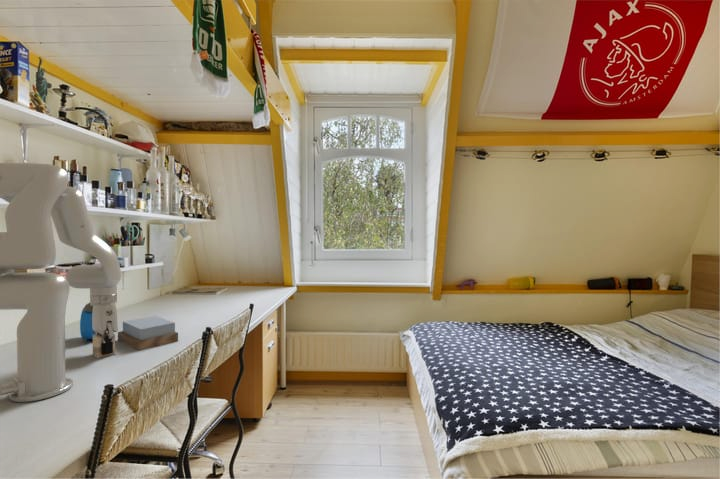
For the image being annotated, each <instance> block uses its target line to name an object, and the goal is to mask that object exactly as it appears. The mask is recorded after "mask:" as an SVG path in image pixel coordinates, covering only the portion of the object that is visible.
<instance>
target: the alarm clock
mask: <svg viewBox="0 0 720 479" xmlns="http://www.w3.org/2000/svg"><path fill="white" fill-rule="evenodd" d="M92 311H93V306H91V305H90V301H89V302H87V303H86V304H85V305H84V307H83V308H82V310H81V313H80V321H79V331H80V337H81V338H82V340H84V342H87V340H88V341H89V340H93V335H94V334H96V333H95V331H94V330H93V327H92Z"/></svg>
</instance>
